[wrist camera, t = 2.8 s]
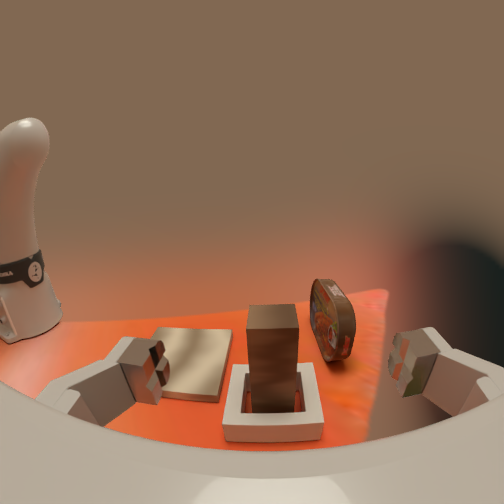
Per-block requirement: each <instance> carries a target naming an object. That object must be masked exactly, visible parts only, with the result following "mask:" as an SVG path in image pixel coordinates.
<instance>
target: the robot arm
mask: <svg viewBox="0 0 504 504" xmlns="http://www.w3.org/2000/svg"><path fill="white" fill-rule="evenodd" d="M49 147H50V140H49V134H48V131H47V129H46V127H45V126H44V124H43V123H42V122H41V121H39V120H38V119H35V118H26V119H22V120H18V121H15V122H13V123H11V124H9V125H8V126H6V127H5V128H4V129H3V130H2V131H0V338H2V339H3V340H4V341H5V342H6V343H13V342H16V341H18V340H20V339H24V338H29V337H33V336H36V335H39V334H41V333H44V332H45V331H47V330H49V329H51V328H52V327H53V326H55V325H56V324H57V323H58V322H59V321H60V319H61V318H62V315H63V312H62V310H61V308H60V307H61V303H60V301H59V300H57V298H56V296H55V293H54V290H53V288H52V285H51V282H50V279H49V277H48V274H47V273H46V272H45V271H44V262H43V256H42V253H41V250H39V248H38V242H37V236H36V229H35V222H34V196H35V189H36V182H37V178H38V175H39V171H40V169H41V166H42V165H43V163H44V161H45V160H46V158H47V155H48V152H49ZM393 345H394V347H395V348H394V349H393V350H392V352H391V353H390V356H389V360H388V368H389V372H390V375H391V377H392V378H394V379H395V380H397V384H396V387H397V389H398V391H399V393H400V395H401V397H402V398H404V397H409V396H413V395H418V394H422V395H424V396H425V397H426V398H428V399H429V400H431V401H432V402H433V403H435V404H436V405H438V406H439V407H440V408H442V409H443V410H444V411H446V412H447V413H449V414H450V415H452V416H453V417H452V418H449V419H446V420H444V421H441V422H438V423H435V424H432V425H430V426H426V427H423V428H420V429H417V430H413V431H410V432H406V433H403V434H399V435H395V436H391V437H387V438H382V439H378V440H373V441H368V442H363V443H357V444H351V445H345V446H338V447H330V448H321V449H310V450H296V451H233V450H219V449H208V448H199V447H191V446H184V445H178V444H172V443H166V442H161V441H156V440H151V439H146V438H142V437H138V436H134V435H130V434H126V433H122V432H119V431H115V430H112V429H108V428H105V427H103V426H105V425H106V424H108V423H109V422H111V421H112V420H113V419H115V418H116V417H118V416H119V415H120V414H122V413H123V412H124V411H126V410H127V409H128V408H130V407H131V406H133V405H134V404H135V403H136V402H139V403H145V404H152V405H158V402H159V400H160V398H161V396H162V394H163V391H162V387H163V386H165V385H166V384H167V383H168V380H169V376H170V365H169V361H168V359H167V358H166V357H165V356H164V355H163V354H164V352H165V347H164V343H163V342H162V341H161V340H153V339H144V338H135V337H122V338H121V340H120V341H119V342H118V343H117V344H116V346H115V347H114V348H113V349H112V351H111V352H110V353H109V354H108V356H107V357H106V358H105V359H104V360H98V361H96V362H94V363H92V364H89V365H87V366H85V367H83V368H80V369H78V370H76V371H73V372H71V373H69V374H66V375H64V376H62V377H59V378H57V379H54V380H52V381H50V382H49V384H48V385H47V386H46V387H45V388H44V389H43V390H42V392H41V393H40V394H39V395H38V396H37V397H36V399H35V400H34V399H32V398H30V397H28V396H26V395H25V394H23V393H21V392H19V391H17V390H15V389H13V388H12V387H10V386H8V385H6V384H5V383H3V382H1V381H0V504H504V368H503V367H500V366H498V365H495V364H492V363H490V362H488V361H485V360H483V359H480V358H478V357H475V356H472V355H470V354H468V353H465V352H462V351H460V350H458V349H452V348H451V347H450V346H449V345H448V344H447V342H446V341H445V340H444V339H443V338H442V337H441V335H440V334H439V333H438V332H437V331H436V330H435V329H434V328H432V327H427V328H423V329H419V330H414V331H408V332H402V333H396V335H395V336H394V339H393Z"/></svg>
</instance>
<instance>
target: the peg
mask: <svg viewBox="0 0 504 504" xmlns="http://www.w3.org/2000/svg"><path fill="white" fill-rule="evenodd" d="M246 333H247V348H248V362H249V375H250V388H251V401H252V413H294V405H295V392H296V377H297V361H298V341H299V324H298V319H297V314H296V308H295V304H279V305H250V306H249V313H248V320H247V327H246Z"/></svg>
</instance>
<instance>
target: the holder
mask: <svg viewBox="0 0 504 504" xmlns="http://www.w3.org/2000/svg"><path fill="white" fill-rule="evenodd" d="M296 390H299V392H300V401H301V410H302V412H295V413H245V404H246V395H247V391H251V388H250V375H249V365H241V364H233V368H232V373H231V378H230V384H229V389H228V395H227V400H226V405H225V411H224V416H223V422H222V426H223V431H224V436H225V440H226V441H230V442H295V441H309V440H320V438H321V434H322V429H323V425H324V419H323V413H322V408H321V402H320V397H319V392H318V387H317V382H316V376H315V371H314V367H313V363H297V377H296Z"/></svg>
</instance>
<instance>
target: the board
mask: <svg viewBox="0 0 504 504" xmlns="http://www.w3.org/2000/svg"><path fill="white" fill-rule="evenodd" d="M232 338H233V333H232V330H223V329H186V328H166V327H158V328H157V330H156V331H155V333H154V334H153V336H152V337H151V339H153V340H161V341H162V342H163V343H164V347H165V352H164V354H163V355H164V356H165V357H166V358H167V359H168V361H169V365H170V376H169V380H168V383H167V384H166V385H165V386H163V387H162V391H163V394H162V396H161V397H167V398H174V399H183V400H192V401H204V402H219V398H220V393H221V389H222V384H223V379H224V375H225V370H226V366H227V361H228V356H229V352H230V347H231V342H232Z"/></svg>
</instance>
